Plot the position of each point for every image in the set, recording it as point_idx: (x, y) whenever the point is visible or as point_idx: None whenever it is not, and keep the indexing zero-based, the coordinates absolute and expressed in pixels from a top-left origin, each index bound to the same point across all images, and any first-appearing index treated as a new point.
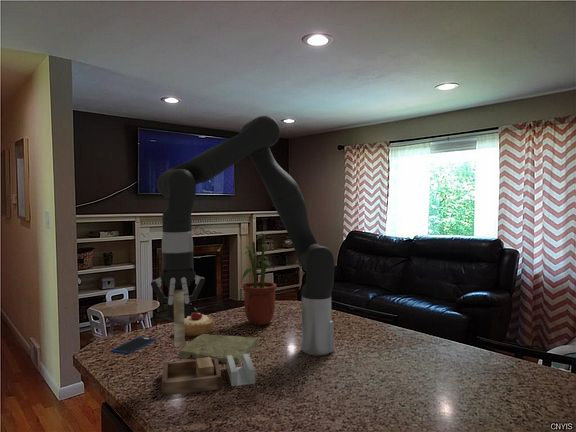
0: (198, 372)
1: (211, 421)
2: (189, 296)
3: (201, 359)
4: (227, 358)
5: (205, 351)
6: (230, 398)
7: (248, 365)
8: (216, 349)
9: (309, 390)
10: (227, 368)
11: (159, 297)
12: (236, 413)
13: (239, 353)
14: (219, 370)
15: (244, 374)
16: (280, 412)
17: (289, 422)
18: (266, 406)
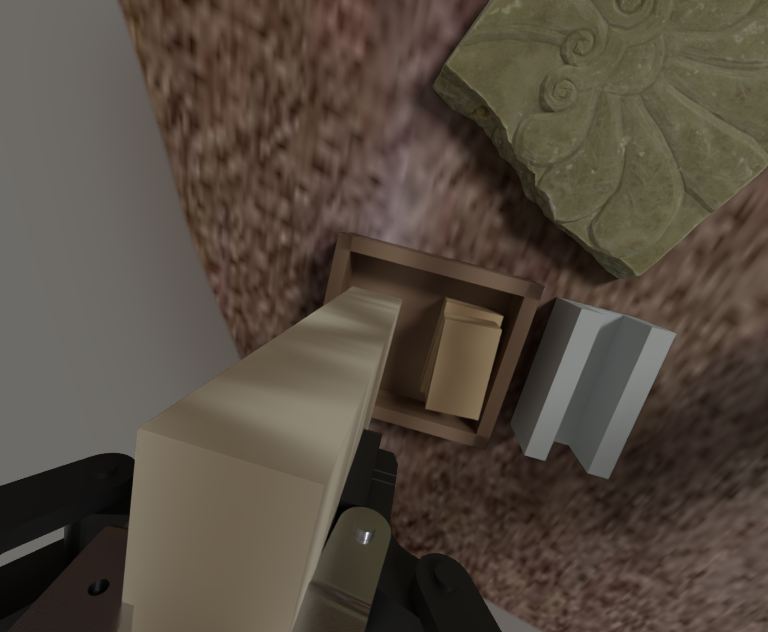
0: (428, 383)
1: (402, 528)
2: (376, 613)
3: (461, 337)
4: (570, 338)
5: (543, 143)
6: (485, 462)
7: (606, 438)
8: (600, 140)
9: (707, 538)
10: (556, 326)
11: (24, 583)
12: (466, 530)
13: (670, 230)
14: (499, 405)
15: (591, 378)
16: (562, 579)
17: (554, 619)
18: (548, 542)
